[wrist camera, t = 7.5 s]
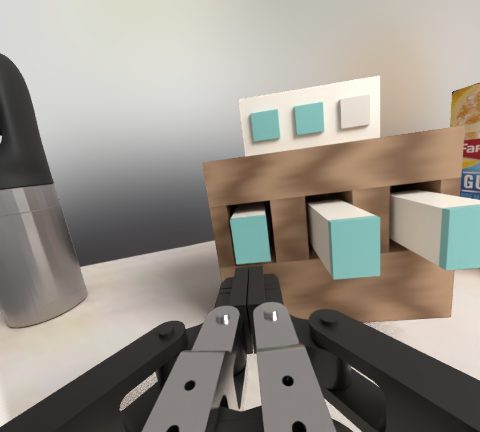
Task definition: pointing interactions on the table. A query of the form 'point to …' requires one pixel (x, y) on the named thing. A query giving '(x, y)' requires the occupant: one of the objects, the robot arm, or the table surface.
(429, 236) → the plunger
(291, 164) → the frame
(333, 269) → the plunger
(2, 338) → the table surface
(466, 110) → the beverage box
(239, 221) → the teal-ended white block
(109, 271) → the table surface
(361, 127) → the card
